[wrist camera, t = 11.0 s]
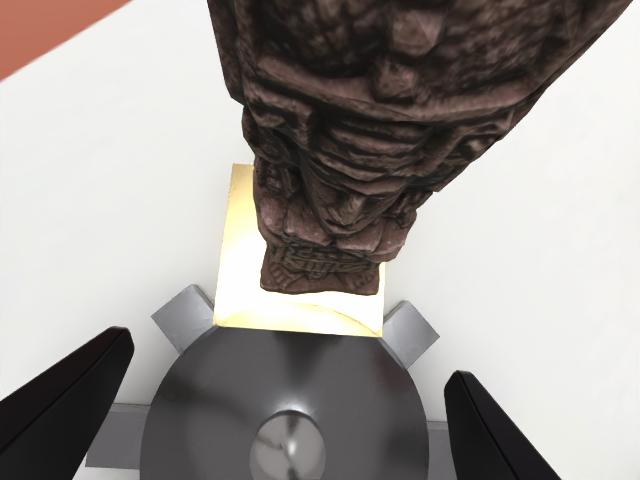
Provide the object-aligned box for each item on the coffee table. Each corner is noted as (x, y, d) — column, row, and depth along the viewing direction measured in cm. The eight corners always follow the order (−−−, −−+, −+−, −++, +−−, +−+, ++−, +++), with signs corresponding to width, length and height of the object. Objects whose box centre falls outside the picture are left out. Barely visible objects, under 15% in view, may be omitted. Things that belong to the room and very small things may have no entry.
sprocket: (465, 660, 18) (488, 710, 16) (64, 652, 17) (29, 705, 15) (464, 191, 23) (481, 180, 20) (149, 162, 21) (132, 147, 19)
